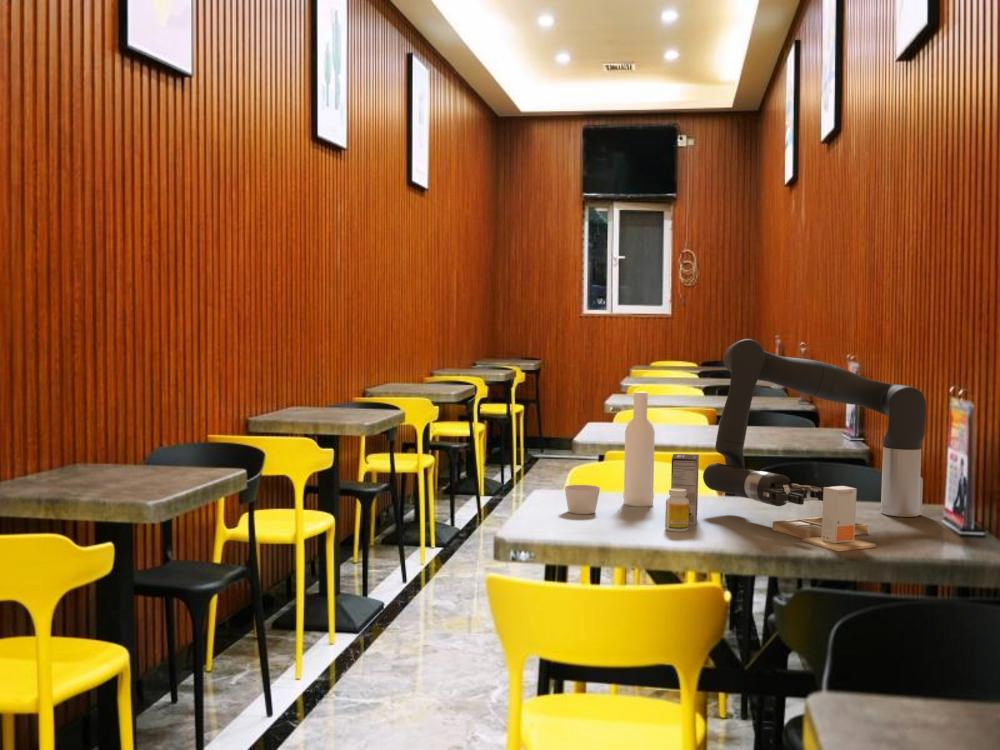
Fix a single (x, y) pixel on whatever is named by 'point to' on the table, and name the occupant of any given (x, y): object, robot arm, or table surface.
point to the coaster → (839, 544)
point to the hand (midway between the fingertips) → (817, 498)
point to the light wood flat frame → (809, 527)
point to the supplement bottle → (677, 510)
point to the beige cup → (582, 498)
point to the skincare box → (838, 514)
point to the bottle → (639, 456)
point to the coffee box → (687, 480)
